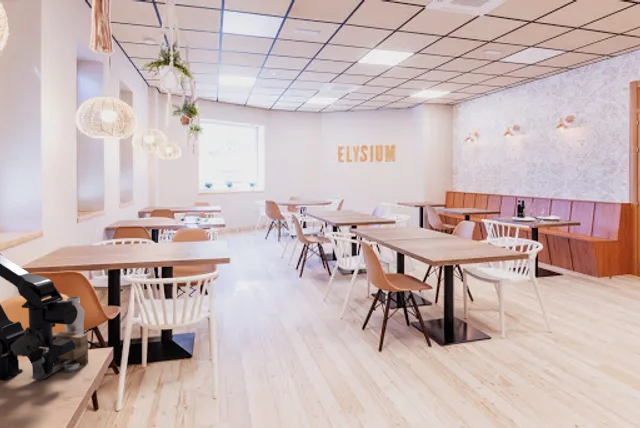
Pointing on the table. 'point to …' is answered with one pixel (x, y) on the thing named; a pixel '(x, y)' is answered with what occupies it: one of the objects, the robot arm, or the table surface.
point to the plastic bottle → (79, 322)
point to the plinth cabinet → (80, 347)
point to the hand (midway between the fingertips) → (42, 373)
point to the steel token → (72, 367)
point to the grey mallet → (39, 368)
